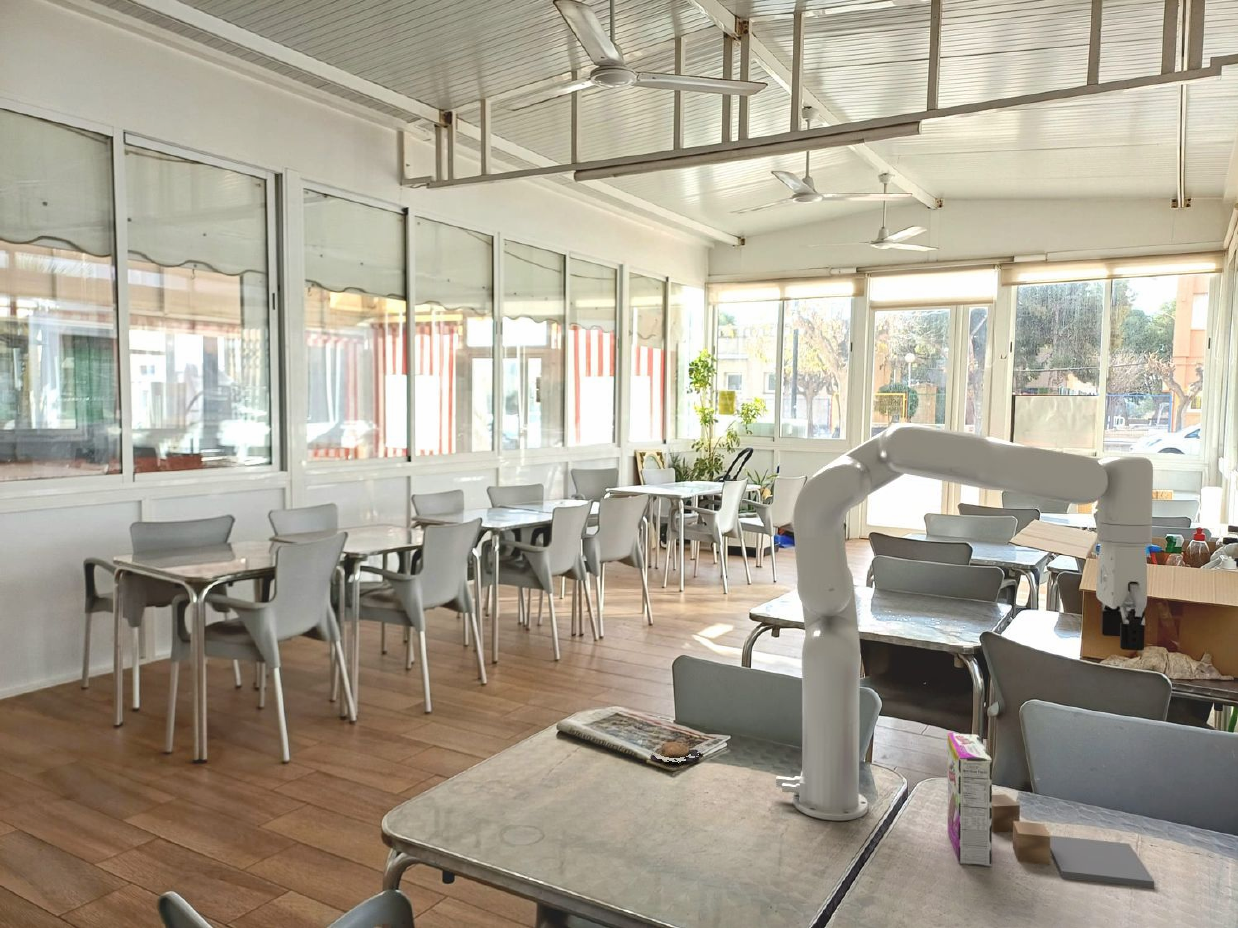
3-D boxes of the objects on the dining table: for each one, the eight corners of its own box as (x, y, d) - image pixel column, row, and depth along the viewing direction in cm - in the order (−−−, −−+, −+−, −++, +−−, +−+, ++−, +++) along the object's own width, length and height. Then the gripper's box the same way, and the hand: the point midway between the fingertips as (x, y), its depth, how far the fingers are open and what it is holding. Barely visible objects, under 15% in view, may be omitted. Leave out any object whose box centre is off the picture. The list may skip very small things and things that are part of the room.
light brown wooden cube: (1017, 861, 134) (1018, 833, 134) (1012, 848, 138) (1013, 820, 138) (1049, 865, 133) (1050, 836, 133) (1043, 851, 137) (1044, 823, 137)
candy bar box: (945, 832, 144) (946, 731, 143) (977, 834, 143) (979, 733, 142) (956, 864, 133) (958, 756, 132) (992, 868, 132) (994, 758, 131)
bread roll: (675, 775, 169) (675, 756, 169) (642, 764, 175) (642, 745, 175) (709, 759, 177) (709, 741, 177) (676, 749, 183) (676, 731, 183)
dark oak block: (993, 833, 144) (993, 806, 144) (979, 821, 148) (980, 795, 148) (1019, 831, 144) (1019, 805, 144) (1005, 820, 148) (1005, 794, 148)
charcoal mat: (1061, 877, 129) (1061, 870, 129) (1044, 840, 141) (1044, 834, 141) (1154, 888, 126) (1154, 881, 126) (1128, 849, 138) (1129, 843, 138)
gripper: (1083, 528, 150) (1081, 629, 151) (1114, 540, 133) (1112, 654, 134) (1132, 529, 148) (1130, 631, 149) (1170, 542, 131) (1168, 657, 132)
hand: (1122, 642), depth 141 cm, fingers open, 9 cm apart
